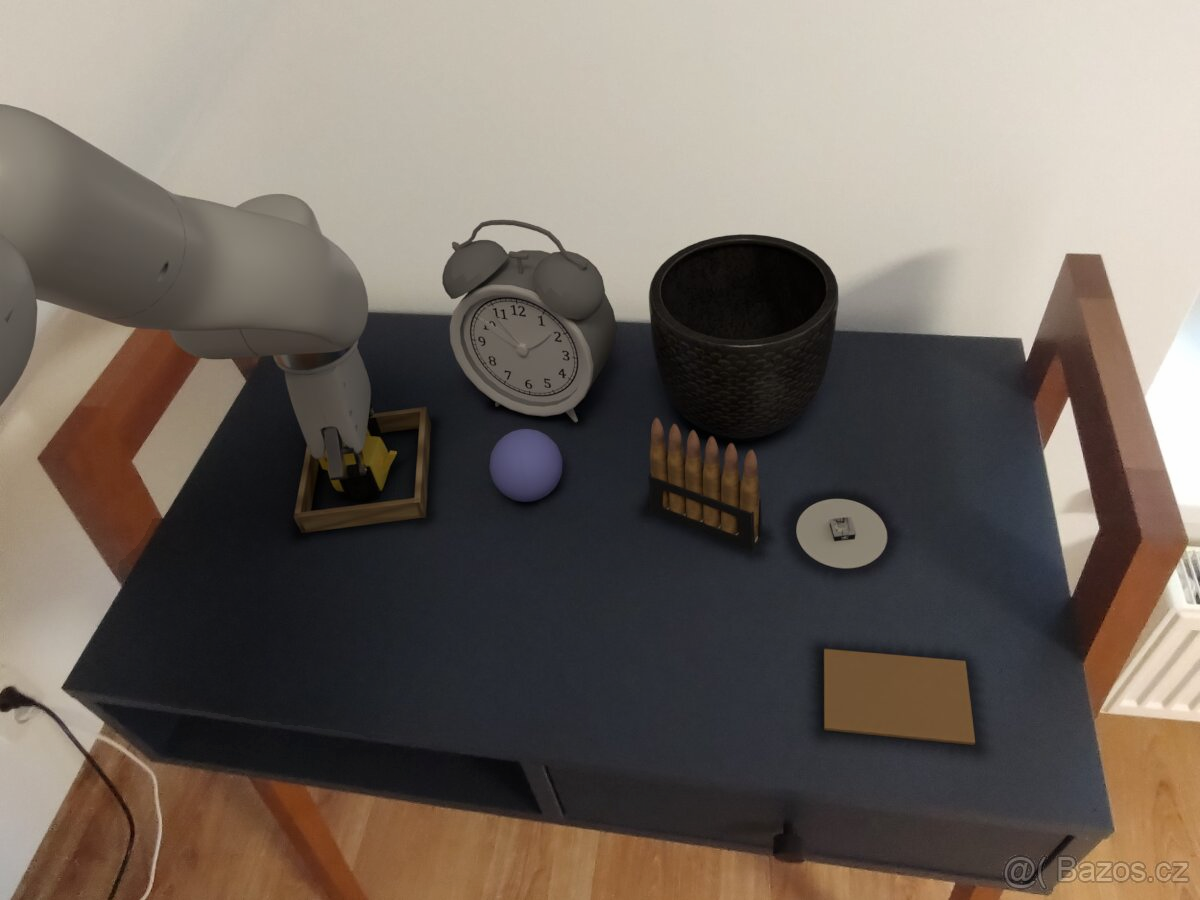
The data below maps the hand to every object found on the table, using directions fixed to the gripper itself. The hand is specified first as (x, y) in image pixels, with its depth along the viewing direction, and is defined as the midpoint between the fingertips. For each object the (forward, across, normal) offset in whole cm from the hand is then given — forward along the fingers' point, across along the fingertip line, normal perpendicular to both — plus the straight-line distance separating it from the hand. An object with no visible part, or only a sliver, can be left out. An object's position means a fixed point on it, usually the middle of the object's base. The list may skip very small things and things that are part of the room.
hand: (367, 471), depth 95 cm
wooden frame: (+1, 0, 0) cm, 1 cm away
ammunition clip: (+1, +12, +32) cm, 35 cm away
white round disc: (+1, +15, +44) cm, 47 cm away
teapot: (+1, 0, 0) cm, 1 cm away
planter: (+1, -2, +38) cm, 39 cm away
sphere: (+1, +5, +16) cm, 17 cm away
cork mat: (+1, +31, +44) cm, 54 cm away
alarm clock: (+1, -8, +18) cm, 20 cm away
